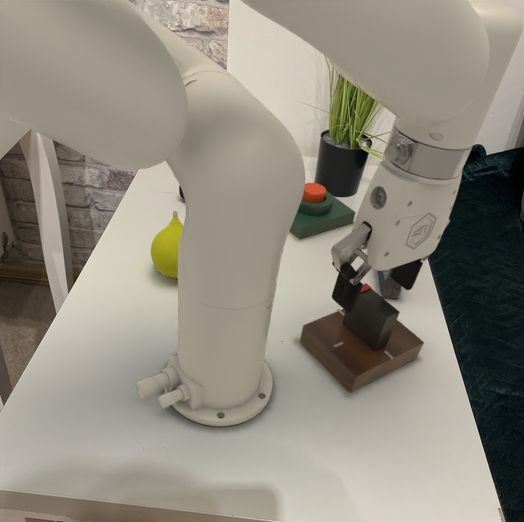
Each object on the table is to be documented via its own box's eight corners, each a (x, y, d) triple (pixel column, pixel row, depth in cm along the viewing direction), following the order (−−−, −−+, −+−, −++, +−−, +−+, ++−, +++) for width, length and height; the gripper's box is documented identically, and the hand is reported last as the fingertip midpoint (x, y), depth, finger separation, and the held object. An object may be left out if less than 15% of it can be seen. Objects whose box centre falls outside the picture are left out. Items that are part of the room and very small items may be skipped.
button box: (299, 239, 85) (303, 218, 83) (264, 210, 91) (266, 189, 88) (352, 223, 91) (358, 202, 88) (316, 196, 96) (320, 176, 94)
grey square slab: (386, 345, 65) (400, 310, 61) (374, 351, 64) (387, 316, 60) (354, 316, 68) (366, 281, 64) (342, 321, 67) (353, 286, 63)
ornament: (178, 252, 79) (178, 191, 72) (211, 274, 76) (215, 213, 69) (141, 271, 75) (137, 208, 68) (175, 294, 72) (175, 232, 65)
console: (350, 393, 63) (357, 376, 61) (298, 341, 68) (302, 323, 66) (417, 359, 68) (425, 341, 66) (364, 313, 74) (370, 296, 72)
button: (310, 206, 86) (312, 196, 85) (295, 194, 88) (297, 185, 87) (328, 201, 88) (331, 191, 87) (313, 190, 90) (315, 180, 89)
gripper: (391, 184, 43) (339, 335, 55) (510, 157, 52) (442, 293, 64) (333, 145, 47) (295, 294, 59) (452, 127, 56) (399, 259, 68)
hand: (372, 293), depth 61 cm, fingers open, 9 cm apart
